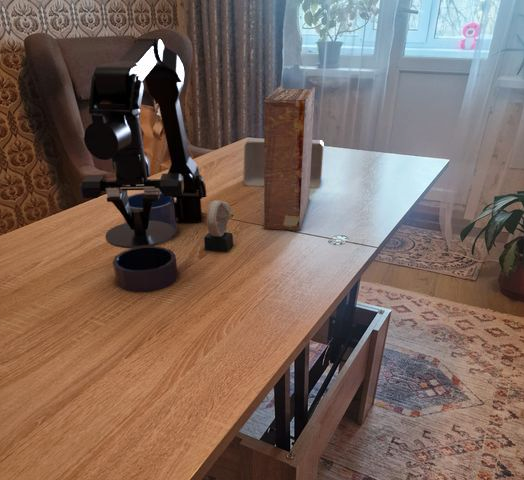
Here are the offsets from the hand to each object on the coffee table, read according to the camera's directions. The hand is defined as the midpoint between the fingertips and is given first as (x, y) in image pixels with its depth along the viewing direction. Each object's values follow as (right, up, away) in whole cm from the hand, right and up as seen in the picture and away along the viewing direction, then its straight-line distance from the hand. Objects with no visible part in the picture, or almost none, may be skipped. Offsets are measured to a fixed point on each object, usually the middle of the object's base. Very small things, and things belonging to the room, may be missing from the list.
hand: (140, 228), depth 96 cm
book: (+32, +14, +38) cm, 51 cm away
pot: (-4, +5, +26) cm, 27 cm away
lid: (0, -1, +1) cm, 1 cm away
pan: (0, -9, +6) cm, 11 cm away
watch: (+14, 0, +19) cm, 24 cm away
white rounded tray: (+32, +33, +65) cm, 79 cm away
